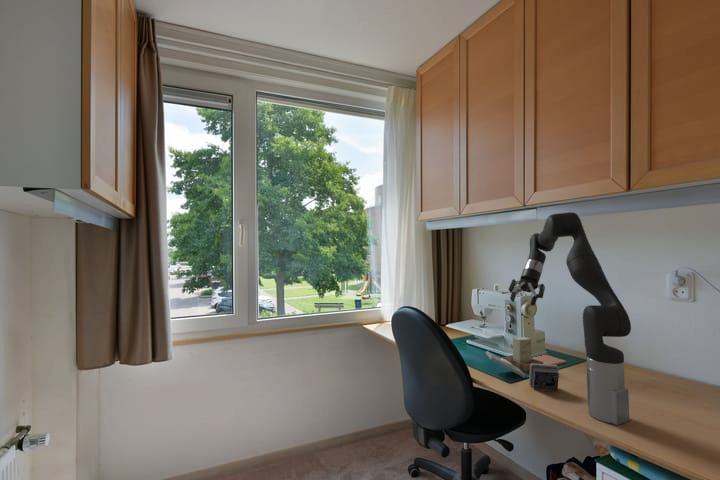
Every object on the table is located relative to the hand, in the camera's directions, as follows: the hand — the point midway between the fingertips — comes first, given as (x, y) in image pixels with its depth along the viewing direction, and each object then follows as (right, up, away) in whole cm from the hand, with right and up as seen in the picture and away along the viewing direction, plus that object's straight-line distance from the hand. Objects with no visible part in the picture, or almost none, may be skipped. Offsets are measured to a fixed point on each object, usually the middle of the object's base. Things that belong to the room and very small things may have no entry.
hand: (521, 302), depth 149 cm
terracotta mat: (+11, -26, +2) cm, 29 cm away
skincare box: (-2, -27, -5) cm, 27 cm away
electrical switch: (-5, -26, -28) cm, 39 cm away
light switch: (-13, -27, -13) cm, 32 cm away
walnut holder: (-2, -26, -5) cm, 27 cm away
